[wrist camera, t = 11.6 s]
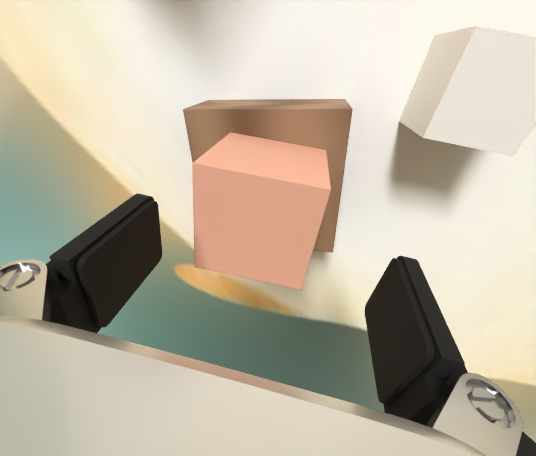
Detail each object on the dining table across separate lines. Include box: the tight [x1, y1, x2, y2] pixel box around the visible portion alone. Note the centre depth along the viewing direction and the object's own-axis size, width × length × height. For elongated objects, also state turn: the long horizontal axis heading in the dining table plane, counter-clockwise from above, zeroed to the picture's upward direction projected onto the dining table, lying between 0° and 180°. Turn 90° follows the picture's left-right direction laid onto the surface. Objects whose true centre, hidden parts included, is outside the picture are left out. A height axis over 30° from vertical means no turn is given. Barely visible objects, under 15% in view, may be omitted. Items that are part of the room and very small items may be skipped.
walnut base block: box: [183, 99, 352, 252], centre depth 20 cm, size 10×10×5 cm
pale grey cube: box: [399, 26, 536, 156], centre depth 15 cm, size 5×5×5 cm
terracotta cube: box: [193, 132, 331, 290], centre depth 15 cm, size 6×6×6 cm
